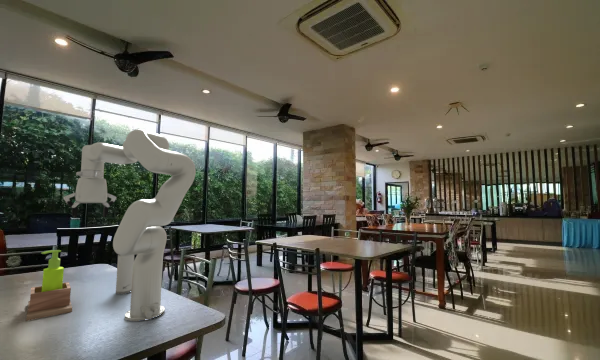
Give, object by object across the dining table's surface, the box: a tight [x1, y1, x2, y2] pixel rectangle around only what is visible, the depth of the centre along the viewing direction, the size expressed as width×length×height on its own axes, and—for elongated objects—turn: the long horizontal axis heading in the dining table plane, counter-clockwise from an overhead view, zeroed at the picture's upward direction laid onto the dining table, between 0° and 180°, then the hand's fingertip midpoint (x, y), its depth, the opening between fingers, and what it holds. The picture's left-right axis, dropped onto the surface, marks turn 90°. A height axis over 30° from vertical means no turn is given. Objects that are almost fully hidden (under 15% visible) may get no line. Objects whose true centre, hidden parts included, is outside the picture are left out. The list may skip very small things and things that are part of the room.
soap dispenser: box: [41, 249, 65, 292], centre depth 105 cm, size 6×7×20 cm
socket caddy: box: [25, 281, 73, 322], centre depth 105 cm, size 20×12×8 cm, turn 43°
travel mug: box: [115, 254, 135, 295], centre depth 125 cm, size 6×7×20 cm
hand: (90, 217), depth 112 cm, fingers open, 9 cm apart
